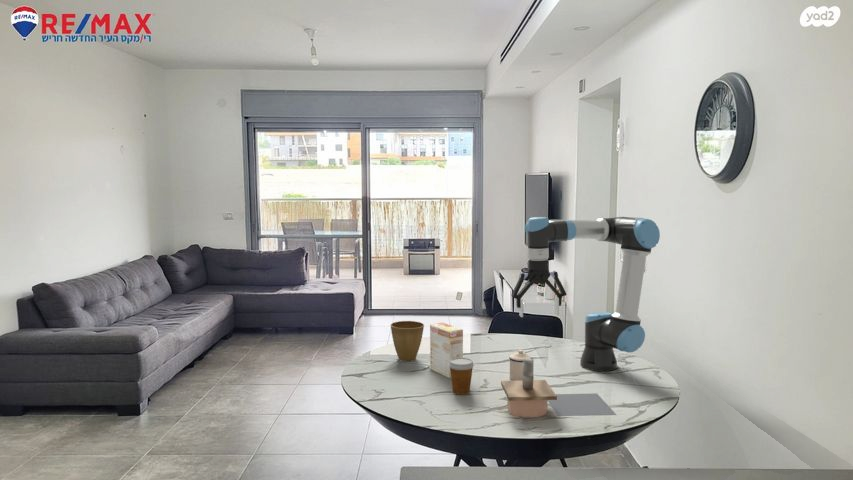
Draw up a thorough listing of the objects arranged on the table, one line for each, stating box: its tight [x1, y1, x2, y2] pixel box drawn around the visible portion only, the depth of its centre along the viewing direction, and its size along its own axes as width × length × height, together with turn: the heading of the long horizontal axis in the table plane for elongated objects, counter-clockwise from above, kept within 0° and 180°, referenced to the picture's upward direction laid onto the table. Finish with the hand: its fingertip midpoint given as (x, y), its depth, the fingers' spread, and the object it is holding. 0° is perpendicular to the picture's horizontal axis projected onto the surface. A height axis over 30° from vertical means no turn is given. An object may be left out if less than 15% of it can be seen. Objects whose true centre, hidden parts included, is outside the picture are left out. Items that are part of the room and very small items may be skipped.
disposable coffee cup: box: [449, 357, 475, 395], centre depth 221 cm, size 10×10×12 cm
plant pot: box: [390, 320, 425, 363], centre depth 262 cm, size 15×15×16 cm
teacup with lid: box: [508, 349, 533, 381], centre depth 237 cm, size 12×9×12 cm
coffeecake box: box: [429, 322, 464, 379], centre depth 243 cm, size 15×7×20 cm, turn 32°
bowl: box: [507, 399, 549, 418], centre depth 202 cm, size 13×13×7 cm
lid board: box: [500, 358, 557, 401], centre depth 201 cm, size 16×16×11 cm
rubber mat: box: [548, 392, 617, 417], centre depth 207 cm, size 20×20×1 cm
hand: (539, 315), depth 219 cm, fingers open, 13 cm apart
